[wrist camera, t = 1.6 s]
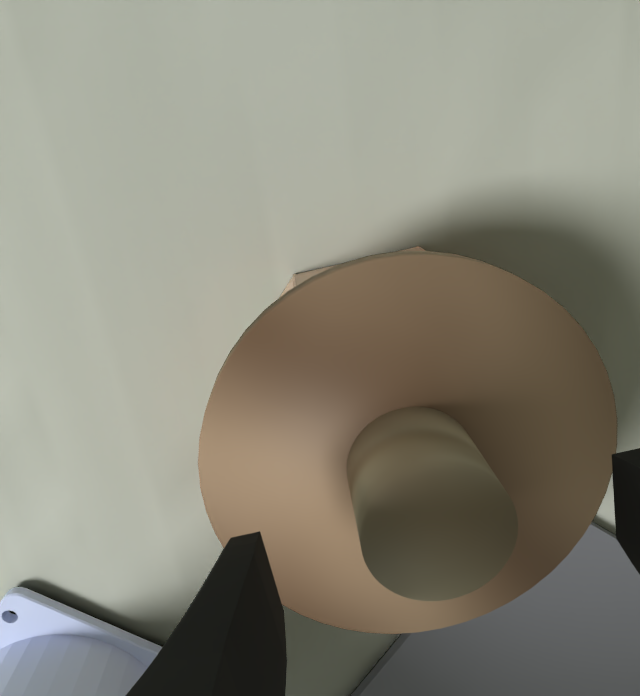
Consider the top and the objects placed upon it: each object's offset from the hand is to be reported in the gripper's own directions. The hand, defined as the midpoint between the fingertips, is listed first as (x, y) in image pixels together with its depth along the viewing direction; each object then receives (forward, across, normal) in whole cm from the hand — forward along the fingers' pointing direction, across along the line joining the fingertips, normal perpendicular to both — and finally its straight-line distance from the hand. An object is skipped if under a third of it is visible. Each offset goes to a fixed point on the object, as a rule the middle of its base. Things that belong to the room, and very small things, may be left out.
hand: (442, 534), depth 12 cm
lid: (+4, 0, 0) cm, 4 cm away
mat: (+7, -4, +12) cm, 14 cm away
